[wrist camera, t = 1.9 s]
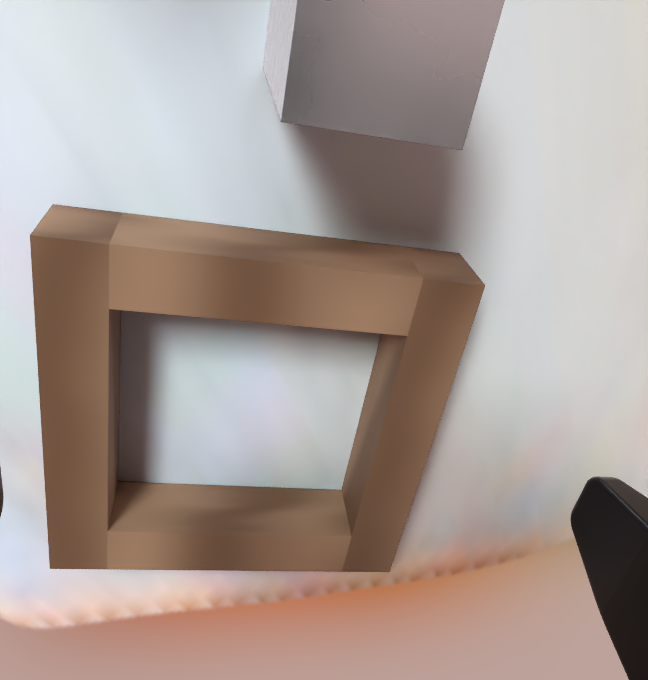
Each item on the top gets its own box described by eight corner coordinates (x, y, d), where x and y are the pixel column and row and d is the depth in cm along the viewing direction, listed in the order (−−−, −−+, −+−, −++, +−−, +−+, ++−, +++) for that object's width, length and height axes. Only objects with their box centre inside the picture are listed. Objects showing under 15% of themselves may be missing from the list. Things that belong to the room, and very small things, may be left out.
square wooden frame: (459, 253, 21) (485, 285, 19) (376, 525, 27) (389, 572, 25) (52, 204, 19) (29, 235, 16) (65, 517, 25) (49, 568, 23)
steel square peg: (416, -54, 16) (522, -66, 10) (385, 89, 18) (462, 150, 12) (280, -85, 16) (313, -115, 10) (262, 68, 17) (280, 122, 11)
